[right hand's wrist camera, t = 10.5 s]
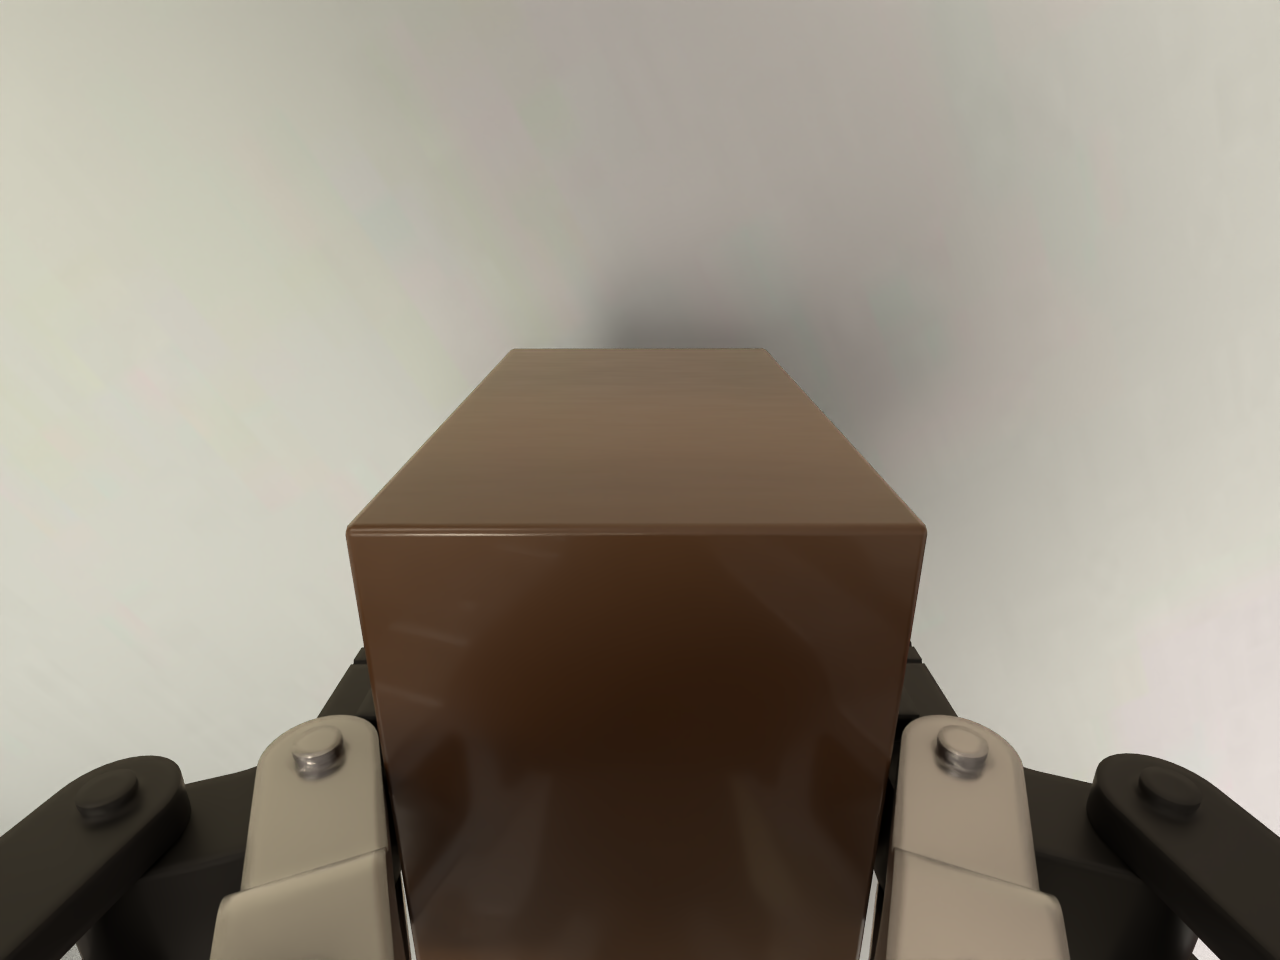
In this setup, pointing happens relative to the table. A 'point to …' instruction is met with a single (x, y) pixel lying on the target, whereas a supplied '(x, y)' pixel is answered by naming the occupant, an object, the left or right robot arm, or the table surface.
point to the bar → (637, 662)
